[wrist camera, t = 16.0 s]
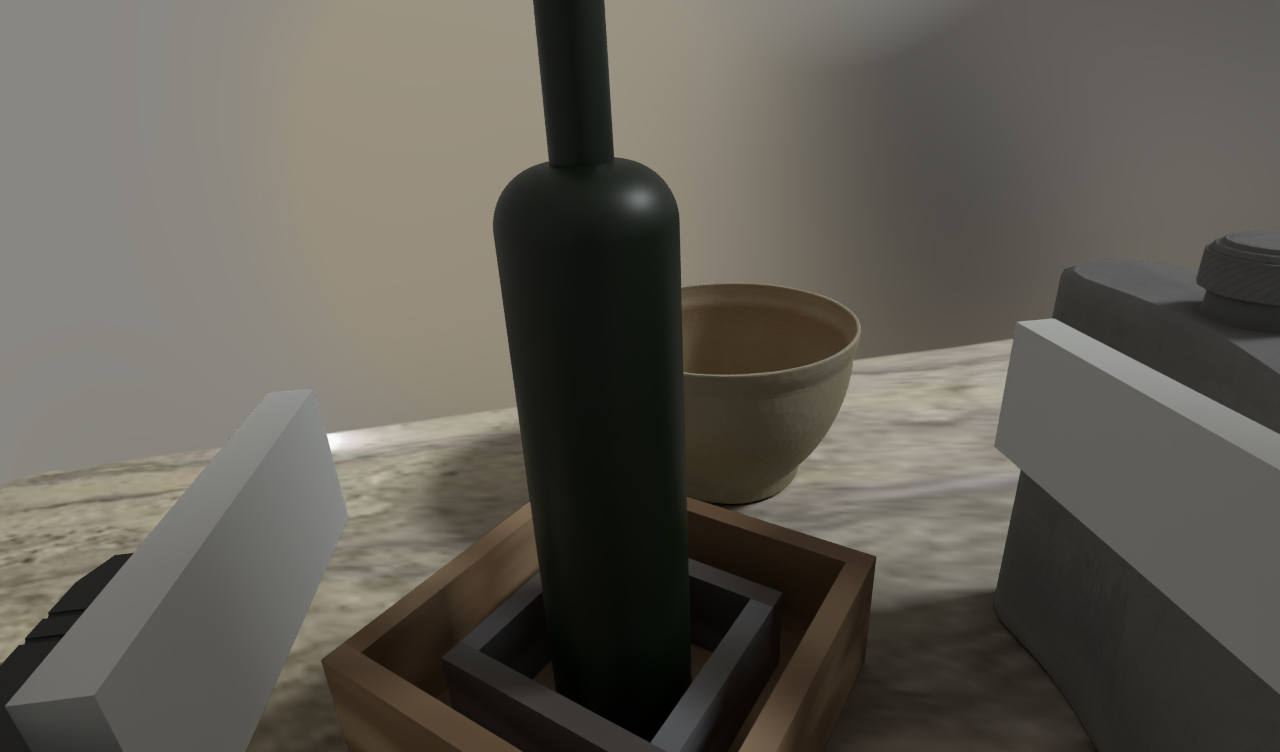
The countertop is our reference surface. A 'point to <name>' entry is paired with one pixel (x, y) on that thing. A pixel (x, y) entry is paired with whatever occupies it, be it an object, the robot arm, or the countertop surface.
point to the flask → (1097, 575)
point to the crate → (522, 667)
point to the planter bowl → (759, 384)
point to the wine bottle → (599, 388)
